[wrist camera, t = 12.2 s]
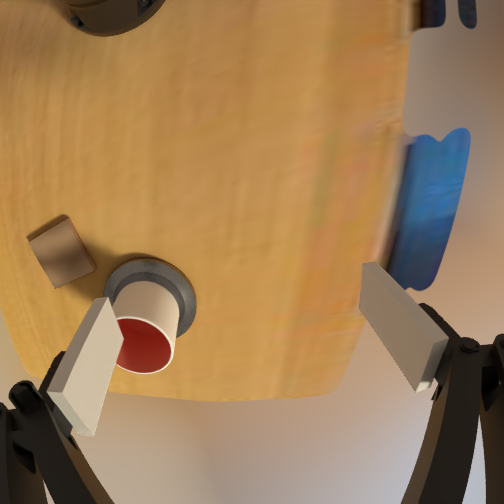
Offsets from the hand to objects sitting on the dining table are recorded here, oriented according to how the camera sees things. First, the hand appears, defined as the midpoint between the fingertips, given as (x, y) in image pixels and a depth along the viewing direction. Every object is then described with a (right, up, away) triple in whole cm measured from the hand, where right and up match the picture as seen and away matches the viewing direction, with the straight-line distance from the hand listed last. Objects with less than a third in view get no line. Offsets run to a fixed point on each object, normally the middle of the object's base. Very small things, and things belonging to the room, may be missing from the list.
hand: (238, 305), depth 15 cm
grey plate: (-16, -5, +32) cm, 36 cm away
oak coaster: (-29, +2, +27) cm, 40 cm away
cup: (-15, -6, +30) cm, 35 cm away
